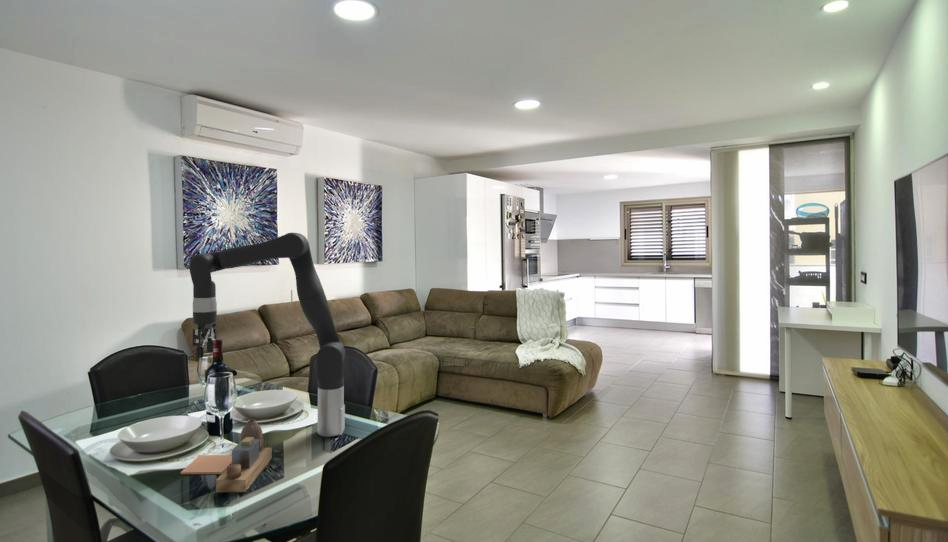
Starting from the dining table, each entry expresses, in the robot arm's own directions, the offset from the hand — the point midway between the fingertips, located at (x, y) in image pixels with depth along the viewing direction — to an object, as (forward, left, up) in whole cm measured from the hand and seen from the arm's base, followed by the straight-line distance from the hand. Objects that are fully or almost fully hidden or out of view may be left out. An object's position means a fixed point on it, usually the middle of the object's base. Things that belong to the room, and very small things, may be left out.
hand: (205, 354), depth 180 cm
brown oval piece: (-20, +11, -29) cm, 37 cm away
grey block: (-26, +32, -25) cm, 48 cm away
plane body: (-26, +32, -29) cm, 50 cm away
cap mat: (-13, +26, -29) cm, 41 cm away
